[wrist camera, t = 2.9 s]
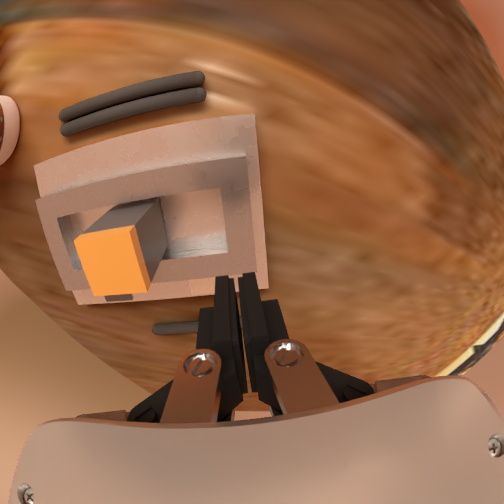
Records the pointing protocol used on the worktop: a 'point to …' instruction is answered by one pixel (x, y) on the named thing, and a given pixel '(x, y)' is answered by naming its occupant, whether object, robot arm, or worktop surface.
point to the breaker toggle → (123, 248)
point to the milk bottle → (8, 127)
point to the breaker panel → (164, 203)
